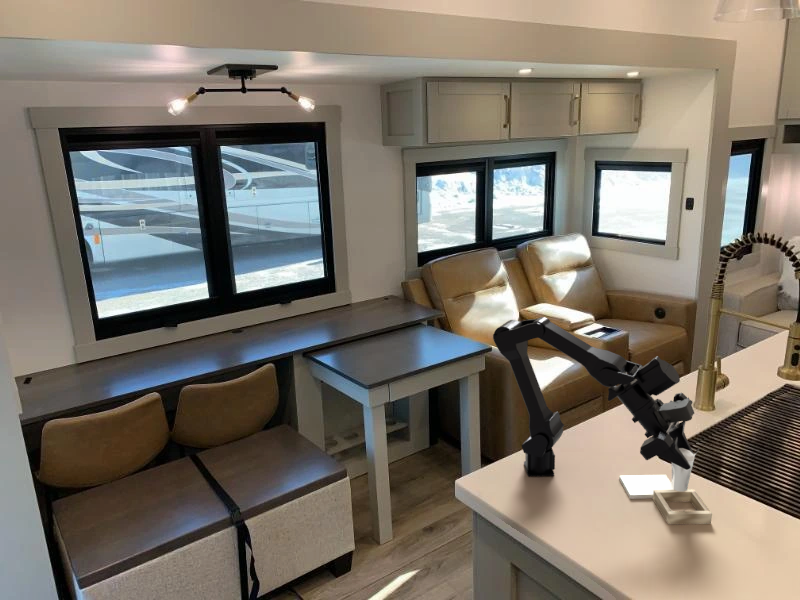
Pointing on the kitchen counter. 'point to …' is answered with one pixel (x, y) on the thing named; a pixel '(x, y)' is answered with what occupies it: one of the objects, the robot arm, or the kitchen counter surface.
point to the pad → (644, 485)
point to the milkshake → (682, 472)
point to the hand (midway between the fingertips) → (691, 463)
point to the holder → (682, 517)
